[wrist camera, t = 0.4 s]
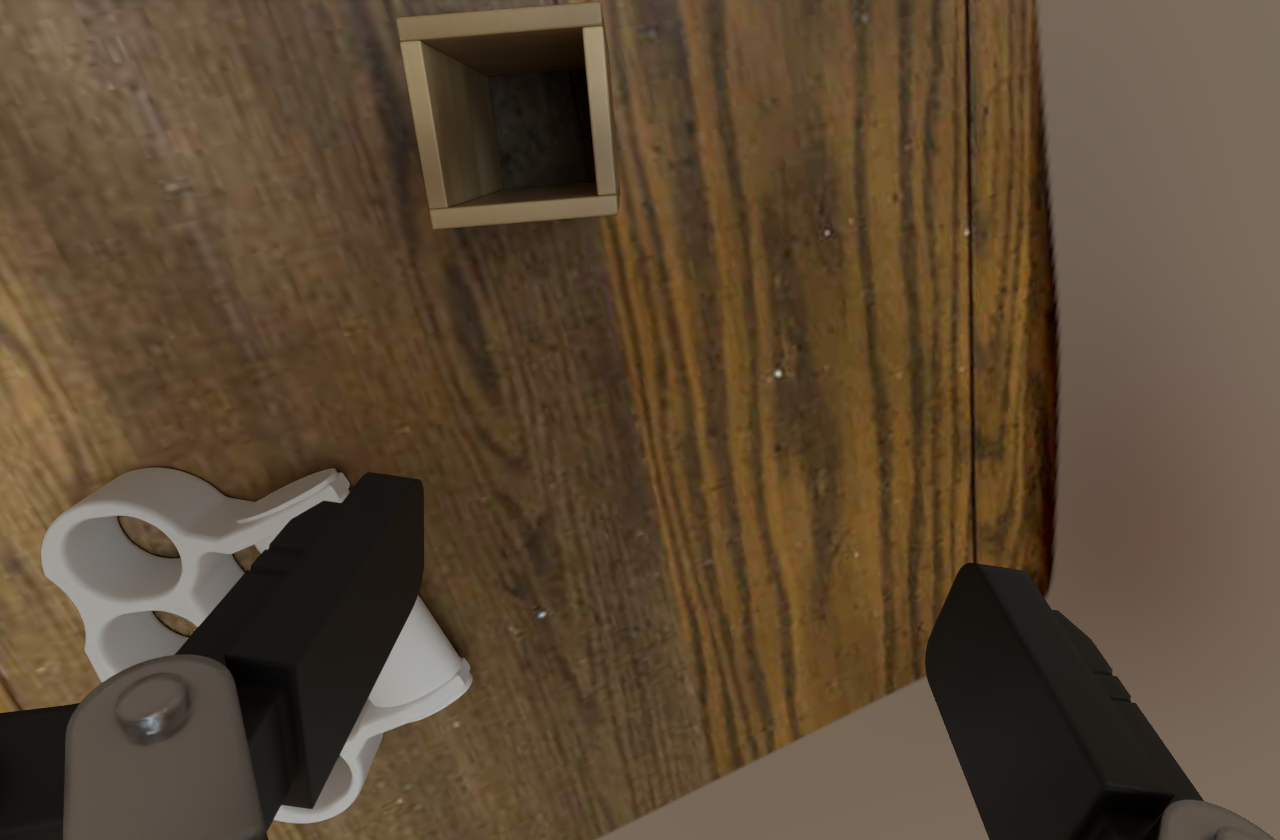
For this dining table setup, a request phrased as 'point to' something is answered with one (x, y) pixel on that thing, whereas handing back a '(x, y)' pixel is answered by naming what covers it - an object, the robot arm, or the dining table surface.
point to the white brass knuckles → (195, 584)
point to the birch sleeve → (464, 120)
